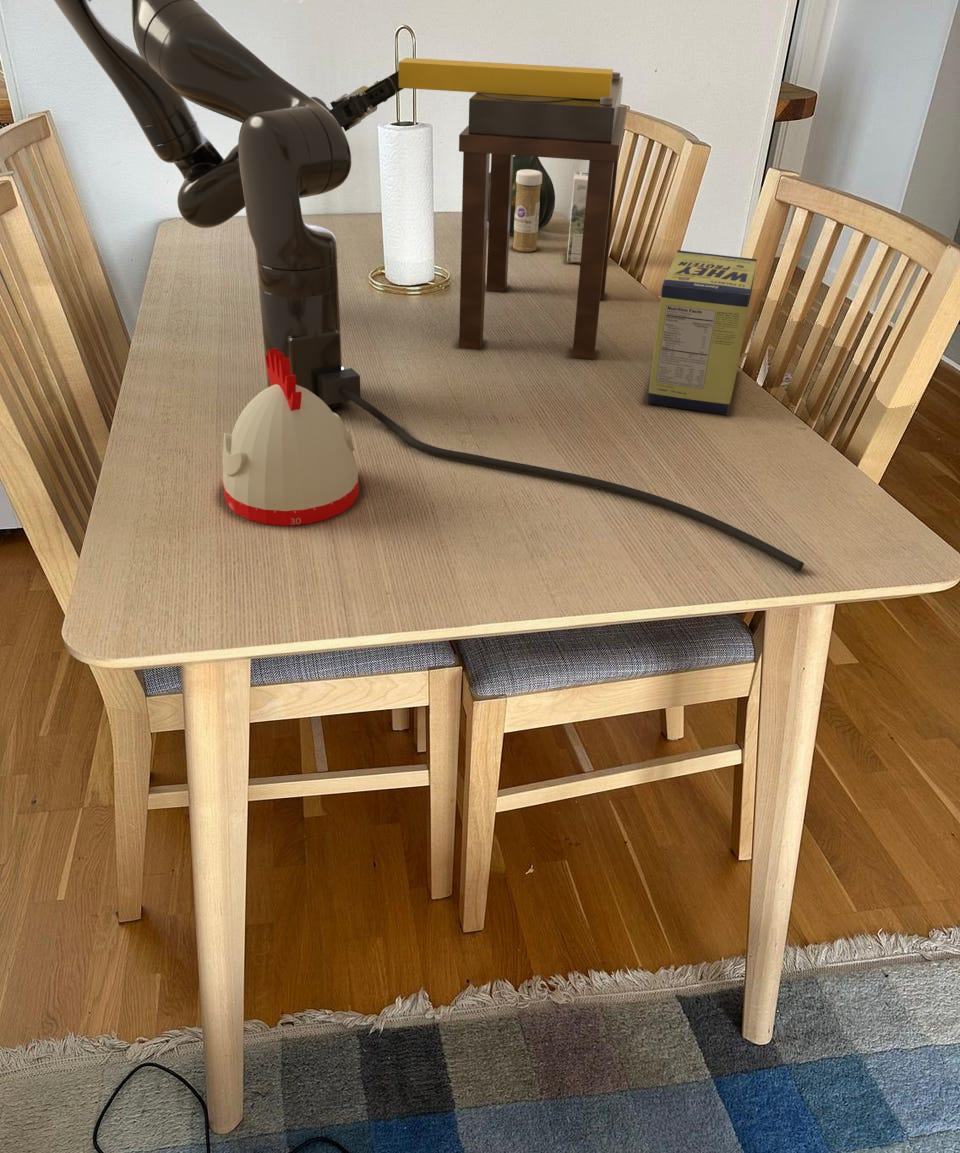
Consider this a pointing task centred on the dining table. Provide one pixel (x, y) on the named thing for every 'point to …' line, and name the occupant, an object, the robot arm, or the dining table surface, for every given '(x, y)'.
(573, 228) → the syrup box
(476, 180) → the hob stand
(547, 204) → the squash
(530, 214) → the sprinkles bottle
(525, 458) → the dining table surface
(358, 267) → the dining table surface
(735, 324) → the protein box
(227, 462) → the kitchen timer
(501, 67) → the yellow rectangular bar
